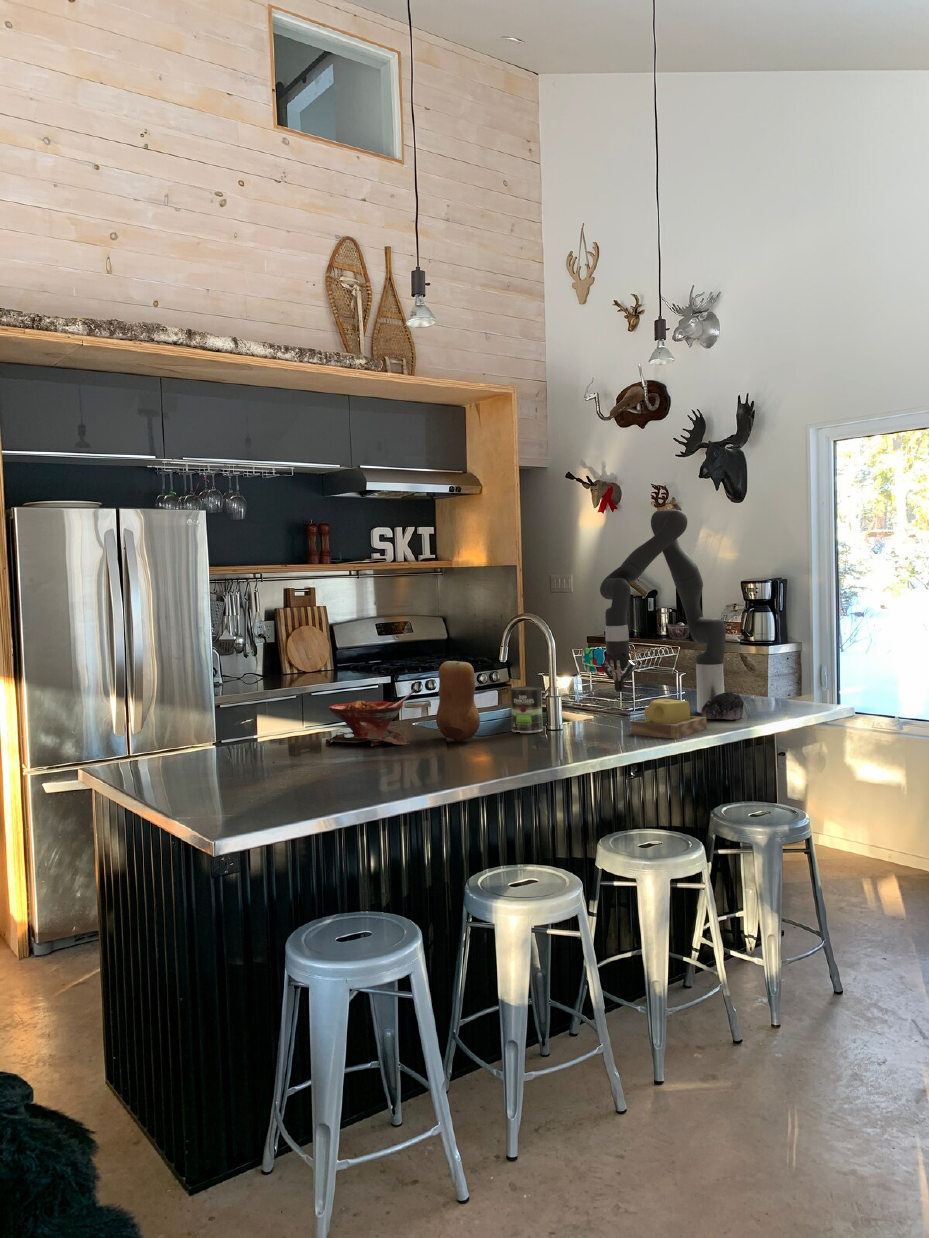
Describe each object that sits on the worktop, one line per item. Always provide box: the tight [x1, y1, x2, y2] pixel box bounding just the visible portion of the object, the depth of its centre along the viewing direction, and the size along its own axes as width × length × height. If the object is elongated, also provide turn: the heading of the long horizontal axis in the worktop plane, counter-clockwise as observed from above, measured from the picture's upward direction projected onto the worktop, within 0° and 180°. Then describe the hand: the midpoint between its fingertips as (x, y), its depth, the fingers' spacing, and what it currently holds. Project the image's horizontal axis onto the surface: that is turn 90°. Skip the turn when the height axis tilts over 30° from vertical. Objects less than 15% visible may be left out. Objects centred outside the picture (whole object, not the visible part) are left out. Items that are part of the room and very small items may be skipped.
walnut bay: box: [630, 715, 707, 740], centre depth 301 cm, size 19×16×4 cm
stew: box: [325, 689, 415, 747], centre depth 301 cm, size 28×24×16 cm
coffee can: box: [509, 685, 544, 734], centre depth 313 cm, size 10×10×14 cm
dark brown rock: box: [701, 690, 745, 721], centre depth 321 cm, size 13×14×10 cm
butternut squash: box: [435, 660, 481, 742], centre depth 300 cm, size 14×13×25 cm
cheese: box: [643, 698, 691, 724], centre depth 302 cm, size 10×11×10 cm
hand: (619, 691), depth 313 cm, fingers closed
